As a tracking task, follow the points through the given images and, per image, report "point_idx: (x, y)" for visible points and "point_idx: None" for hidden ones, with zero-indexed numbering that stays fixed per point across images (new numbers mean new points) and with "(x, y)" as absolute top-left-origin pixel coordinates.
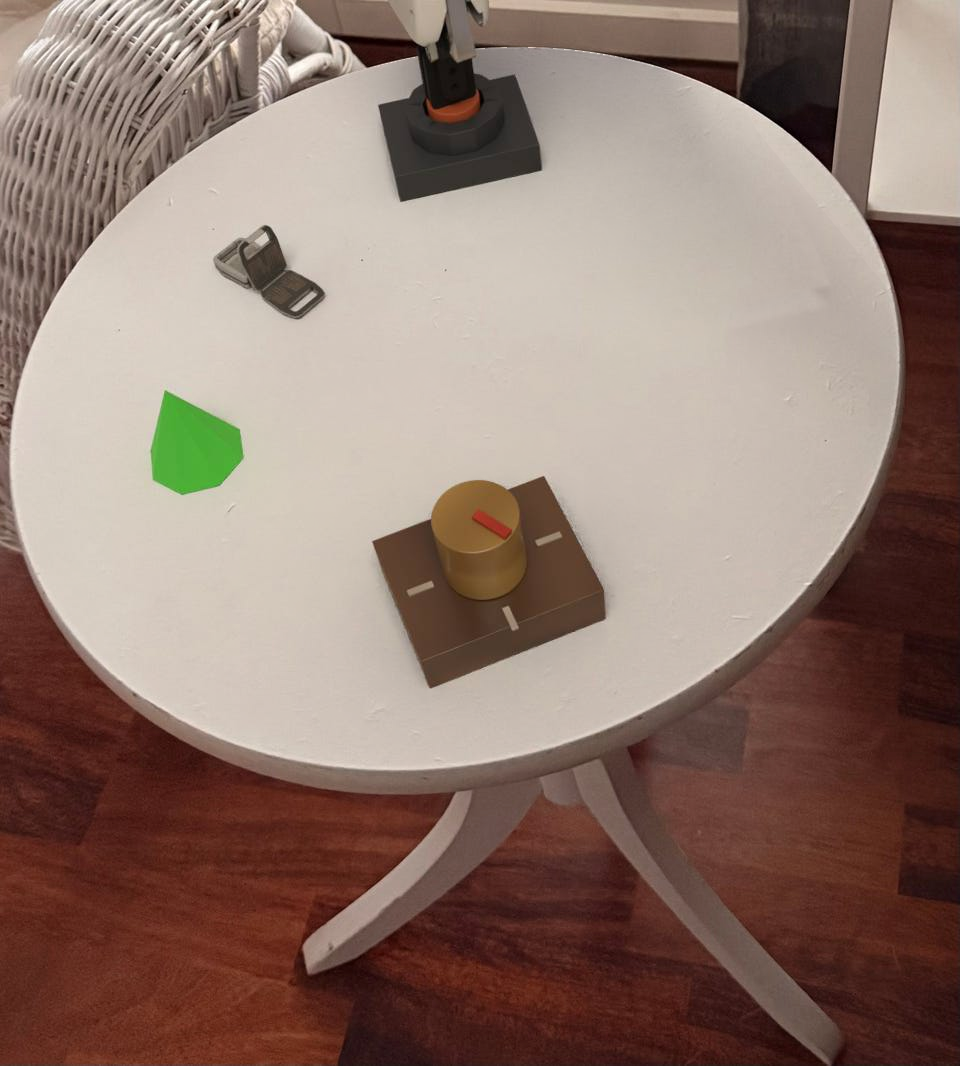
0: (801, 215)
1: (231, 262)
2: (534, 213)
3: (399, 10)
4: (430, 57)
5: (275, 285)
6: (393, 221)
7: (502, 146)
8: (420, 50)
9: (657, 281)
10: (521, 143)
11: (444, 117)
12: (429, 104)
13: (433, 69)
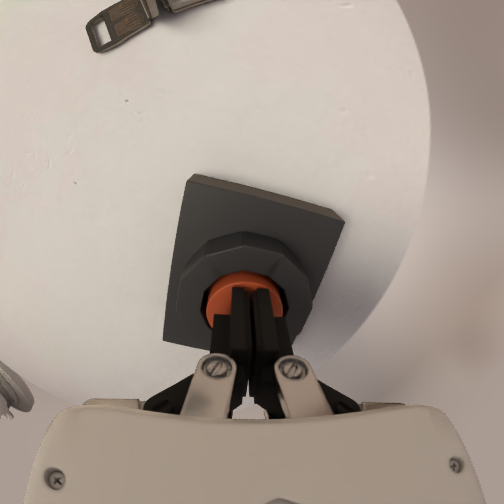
0: (79, 395)
1: None
2: (116, 289)
3: (186, 460)
4: (210, 362)
5: (136, 6)
6: (166, 153)
7: (176, 313)
8: (264, 351)
9: (36, 320)
10: (171, 329)
11: (215, 289)
12: (250, 284)
13: (230, 340)
